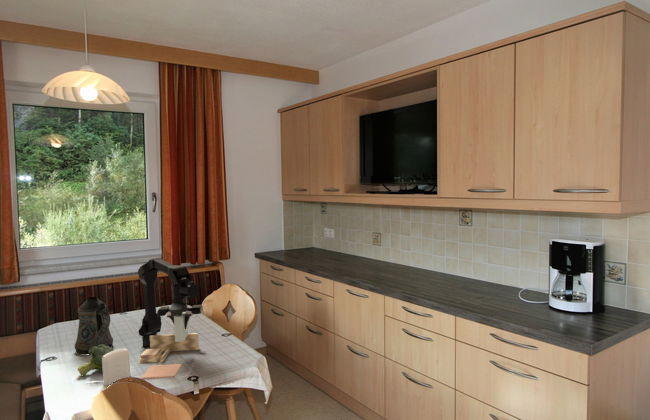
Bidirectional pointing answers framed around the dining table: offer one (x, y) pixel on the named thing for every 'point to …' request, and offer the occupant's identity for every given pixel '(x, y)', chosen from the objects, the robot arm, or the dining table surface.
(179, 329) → the tall pale grey block
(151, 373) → the mat
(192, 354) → the dining table surface
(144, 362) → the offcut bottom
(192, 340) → the rack
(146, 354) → the offcut top
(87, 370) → the vegetable
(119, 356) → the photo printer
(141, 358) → the offcut middle
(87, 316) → the beer stein
